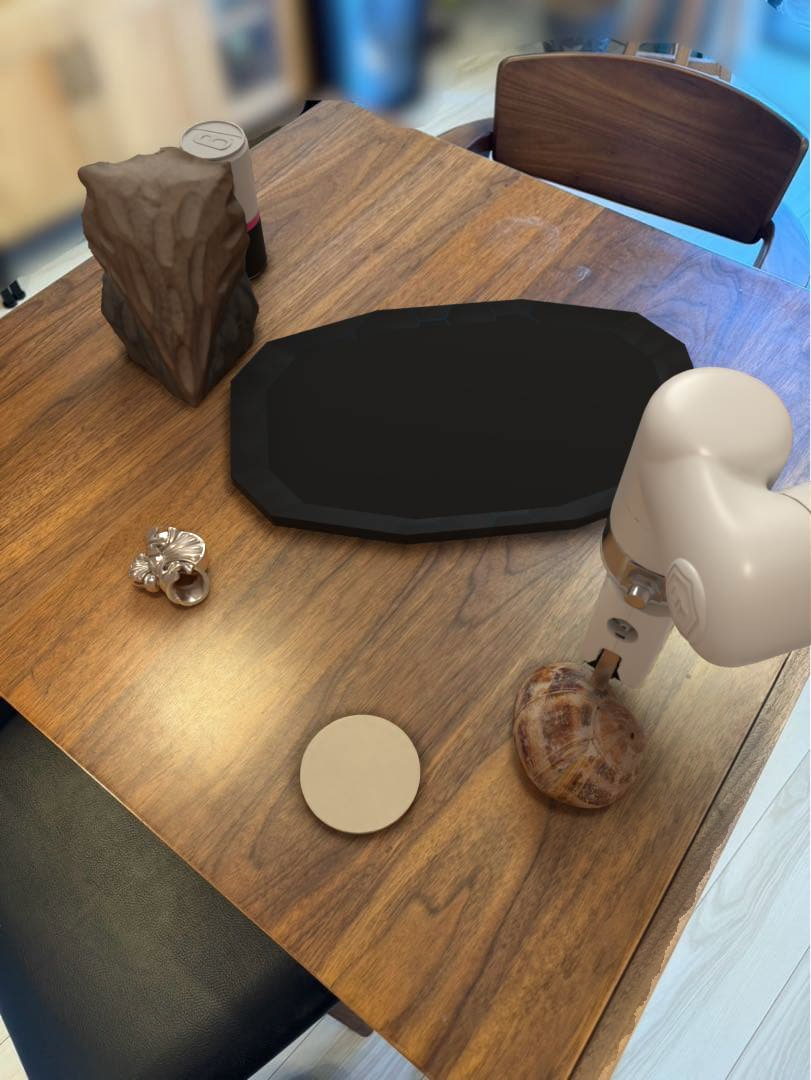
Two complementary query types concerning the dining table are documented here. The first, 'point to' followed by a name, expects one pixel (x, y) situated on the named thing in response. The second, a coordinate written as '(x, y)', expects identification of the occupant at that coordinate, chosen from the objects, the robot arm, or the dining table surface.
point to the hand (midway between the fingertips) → (608, 665)
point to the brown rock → (172, 265)
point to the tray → (447, 419)
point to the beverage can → (232, 146)
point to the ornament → (172, 565)
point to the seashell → (575, 737)
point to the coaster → (360, 774)
